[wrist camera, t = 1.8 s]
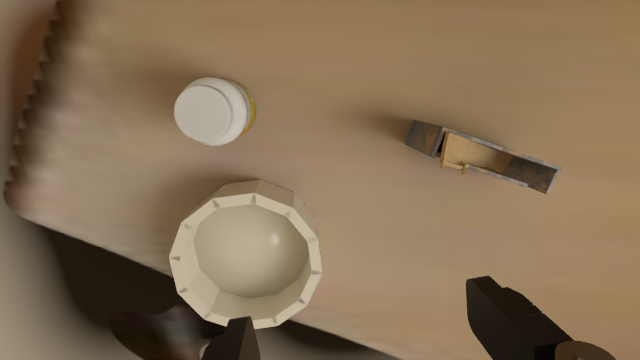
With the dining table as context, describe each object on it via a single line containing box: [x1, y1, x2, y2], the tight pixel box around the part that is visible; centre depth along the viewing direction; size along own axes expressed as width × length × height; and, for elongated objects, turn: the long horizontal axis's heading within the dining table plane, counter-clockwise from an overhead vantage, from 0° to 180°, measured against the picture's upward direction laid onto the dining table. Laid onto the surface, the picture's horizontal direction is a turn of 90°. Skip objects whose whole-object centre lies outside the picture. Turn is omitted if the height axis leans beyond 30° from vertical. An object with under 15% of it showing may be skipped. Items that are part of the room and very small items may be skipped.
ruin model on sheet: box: [406, 120, 562, 195], centre depth 32 cm, size 11×3×10 cm, turn 72°
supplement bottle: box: [174, 77, 256, 146], centre depth 29 cm, size 5×5×10 cm
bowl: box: [169, 180, 322, 329], centre depth 35 cm, size 14×14×5 cm
